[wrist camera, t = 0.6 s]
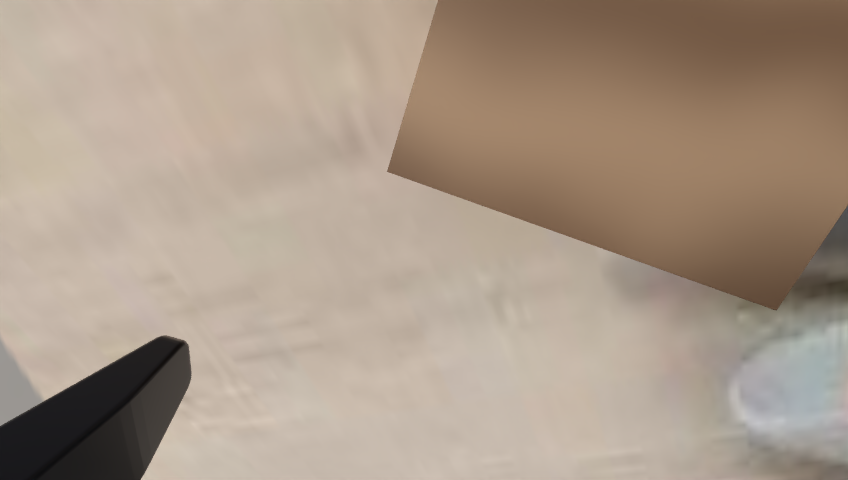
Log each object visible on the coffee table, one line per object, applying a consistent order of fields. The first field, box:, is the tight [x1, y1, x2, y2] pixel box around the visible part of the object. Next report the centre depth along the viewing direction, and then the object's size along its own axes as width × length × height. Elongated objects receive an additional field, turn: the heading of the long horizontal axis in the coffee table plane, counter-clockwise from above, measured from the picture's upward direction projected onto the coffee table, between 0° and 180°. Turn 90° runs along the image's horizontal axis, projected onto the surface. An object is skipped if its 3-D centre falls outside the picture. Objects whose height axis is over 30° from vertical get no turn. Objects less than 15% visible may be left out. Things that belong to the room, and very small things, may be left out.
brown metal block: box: [387, 0, 848, 310], centre depth 17 cm, size 12×12×5 cm
